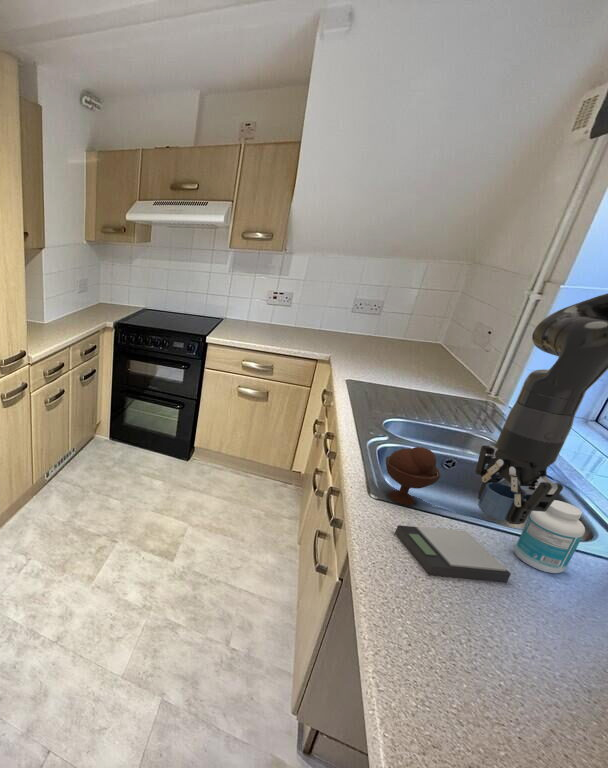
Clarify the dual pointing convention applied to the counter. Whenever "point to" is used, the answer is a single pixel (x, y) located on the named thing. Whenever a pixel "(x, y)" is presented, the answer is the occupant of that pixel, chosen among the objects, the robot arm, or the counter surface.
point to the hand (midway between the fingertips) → (498, 511)
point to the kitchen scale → (451, 553)
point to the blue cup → (497, 500)
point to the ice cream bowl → (411, 471)
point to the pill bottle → (551, 537)
